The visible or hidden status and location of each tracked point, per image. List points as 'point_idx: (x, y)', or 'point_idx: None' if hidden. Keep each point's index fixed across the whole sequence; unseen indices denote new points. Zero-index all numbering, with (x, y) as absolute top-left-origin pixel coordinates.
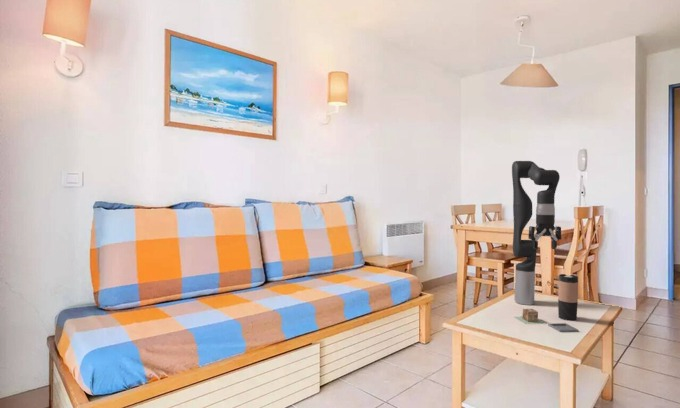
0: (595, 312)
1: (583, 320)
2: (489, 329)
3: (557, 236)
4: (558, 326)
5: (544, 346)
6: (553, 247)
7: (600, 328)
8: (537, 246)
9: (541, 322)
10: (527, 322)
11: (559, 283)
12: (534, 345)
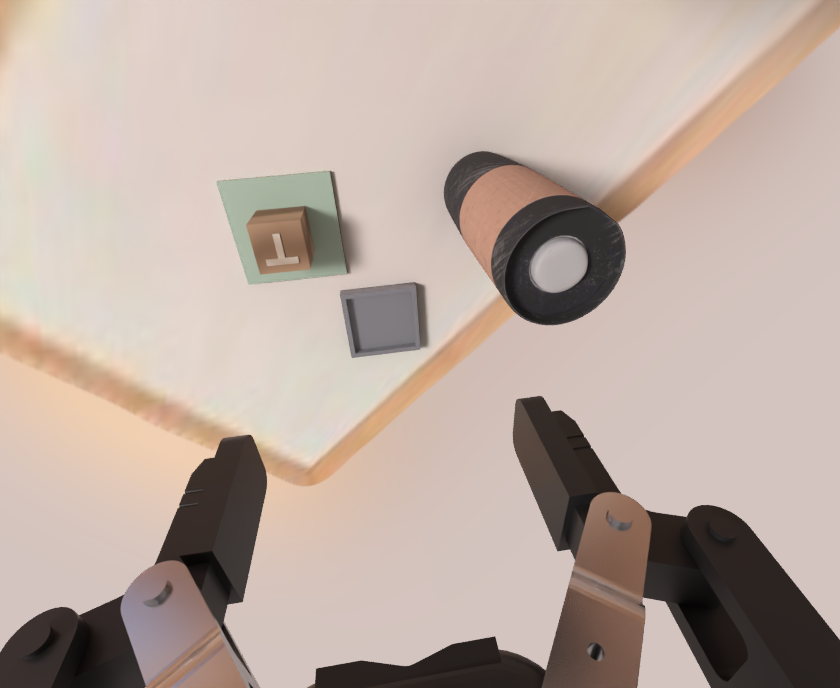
0: (706, 63)
1: None
2: (84, 341)
3: (736, 575)
4: (376, 301)
5: None
6: (521, 446)
7: None
8: (254, 515)
9: (328, 259)
10: None
11: (486, 243)
12: None
